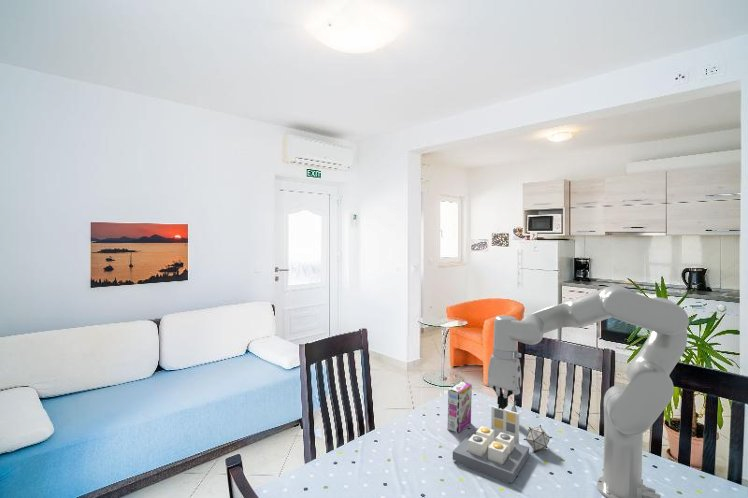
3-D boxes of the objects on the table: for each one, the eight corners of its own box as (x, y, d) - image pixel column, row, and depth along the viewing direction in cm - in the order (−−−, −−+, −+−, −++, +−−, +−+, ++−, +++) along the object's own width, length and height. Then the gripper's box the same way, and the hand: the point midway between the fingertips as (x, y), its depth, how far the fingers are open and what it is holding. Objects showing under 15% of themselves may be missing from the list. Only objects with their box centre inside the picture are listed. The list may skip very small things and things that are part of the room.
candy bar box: (458, 434, 147) (458, 392, 146) (447, 430, 150) (447, 389, 149) (472, 423, 155) (472, 383, 155) (460, 419, 159) (461, 380, 158)
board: (529, 457, 132) (529, 447, 132) (512, 484, 117) (512, 473, 117) (473, 438, 144) (473, 429, 144) (452, 461, 130) (452, 451, 129)
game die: (543, 461, 135) (556, 449, 129) (519, 451, 137) (531, 437, 131) (543, 439, 142) (556, 425, 136) (520, 428, 144) (532, 415, 138)
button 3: (514, 450, 132) (514, 435, 131) (509, 457, 128) (509, 441, 128) (500, 445, 135) (500, 431, 134) (495, 452, 131) (495, 437, 130)
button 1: (494, 443, 136) (494, 429, 136) (489, 449, 132) (489, 435, 132) (481, 439, 139) (481, 425, 139) (476, 445, 135) (476, 430, 135)
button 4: (507, 460, 126) (507, 444, 126) (502, 467, 122) (502, 451, 122) (493, 455, 129) (493, 439, 129) (488, 461, 125) (488, 446, 125)
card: (520, 443, 141) (521, 411, 140) (518, 446, 138) (518, 414, 138) (494, 434, 147) (494, 403, 146) (491, 437, 144) (491, 406, 144)
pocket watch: (493, 422, 156) (493, 398, 155) (508, 418, 159) (508, 394, 159) (507, 432, 148) (508, 407, 148) (523, 427, 152) (524, 402, 152)
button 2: (486, 452, 130) (487, 437, 130) (481, 459, 126) (481, 443, 126) (473, 448, 133) (473, 433, 133) (467, 454, 129) (467, 439, 129)
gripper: (531, 356, 125) (529, 410, 126) (487, 346, 134) (485, 397, 135) (524, 361, 119) (521, 419, 120) (478, 351, 128) (476, 404, 129)
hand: (502, 407), depth 127 cm, fingers closed
